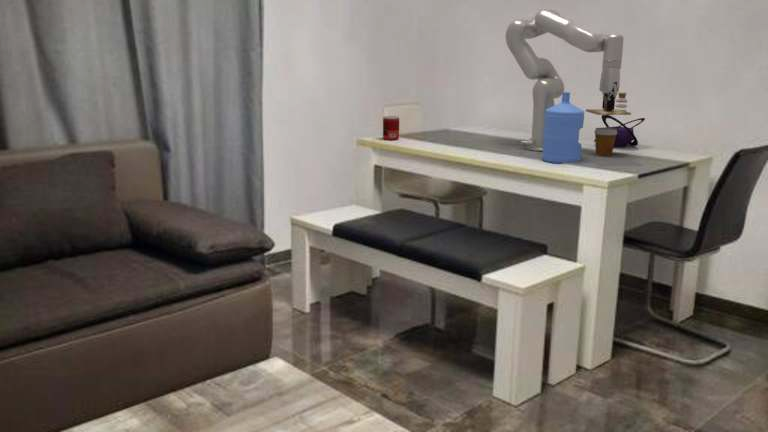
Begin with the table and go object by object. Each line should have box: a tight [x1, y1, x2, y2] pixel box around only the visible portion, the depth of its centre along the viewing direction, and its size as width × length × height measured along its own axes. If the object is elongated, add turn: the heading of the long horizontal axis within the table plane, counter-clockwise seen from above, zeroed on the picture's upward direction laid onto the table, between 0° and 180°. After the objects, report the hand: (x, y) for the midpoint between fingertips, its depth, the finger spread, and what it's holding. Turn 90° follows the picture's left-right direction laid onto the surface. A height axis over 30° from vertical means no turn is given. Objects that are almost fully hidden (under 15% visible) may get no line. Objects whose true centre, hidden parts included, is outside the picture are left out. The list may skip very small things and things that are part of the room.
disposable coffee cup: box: [593, 127, 618, 157], centre depth 310 cm, size 10×10×12 cm
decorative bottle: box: [593, 91, 646, 148], centre depth 336 cm, size 22×21×25 cm
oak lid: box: [585, 96, 632, 116], centre depth 306 cm, size 14×14×7 cm
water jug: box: [541, 91, 585, 165], centre depth 297 cm, size 16×16×28 cm
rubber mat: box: [586, 157, 645, 167], centre depth 293 cm, size 18×16×1 cm
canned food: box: [382, 115, 400, 142], centre depth 351 cm, size 8×8×11 cm
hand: (608, 108), depth 306 cm, fingers closed on oak lid, 3 cm apart
